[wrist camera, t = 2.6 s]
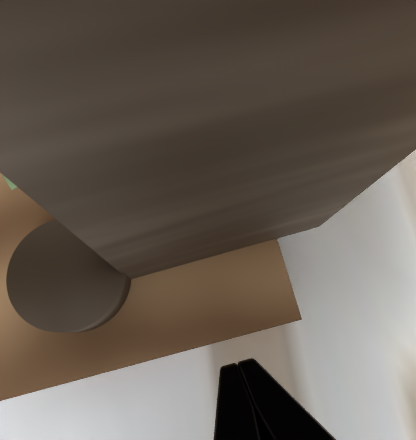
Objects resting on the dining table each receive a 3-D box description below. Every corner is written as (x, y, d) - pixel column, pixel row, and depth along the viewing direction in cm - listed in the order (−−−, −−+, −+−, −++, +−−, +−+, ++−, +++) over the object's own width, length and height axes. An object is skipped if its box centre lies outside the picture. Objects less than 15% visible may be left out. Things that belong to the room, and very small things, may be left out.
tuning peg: (331, 259, 17) (891, -21, 3) (37, 345, 15) (-1099, 461, 2) (265, 87, 19) (442, -474, 6) (4, 146, 18) (-588, -444, 4)
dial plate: (292, 320, 18) (301, 319, 16) (2, 398, 16) (-17, 405, 15) (223, 91, 21) (225, 73, 20) (-23, 138, 20) (-41, 122, 18)
